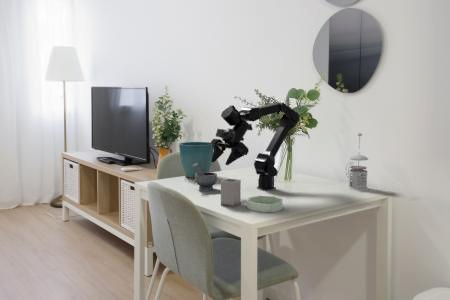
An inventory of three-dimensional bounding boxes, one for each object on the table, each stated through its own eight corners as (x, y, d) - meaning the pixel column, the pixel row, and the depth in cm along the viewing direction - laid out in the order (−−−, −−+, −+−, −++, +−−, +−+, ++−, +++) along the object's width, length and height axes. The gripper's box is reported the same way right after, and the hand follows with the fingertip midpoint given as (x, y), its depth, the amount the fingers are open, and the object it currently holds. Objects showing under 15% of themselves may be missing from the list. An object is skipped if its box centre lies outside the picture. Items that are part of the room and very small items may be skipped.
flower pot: (175, 174, 240) (175, 142, 237) (208, 172, 245) (208, 140, 243) (183, 180, 222) (182, 146, 220) (218, 178, 228) (218, 144, 226)
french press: (373, 189, 204) (376, 133, 200) (353, 191, 198) (356, 134, 195) (358, 185, 212) (360, 131, 209) (338, 187, 207) (340, 132, 204)
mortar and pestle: (211, 186, 209) (211, 160, 208) (220, 190, 201) (220, 163, 200) (188, 188, 204) (188, 162, 203) (197, 192, 196) (197, 165, 194)
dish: (267, 201, 180) (267, 194, 180) (289, 209, 169) (289, 201, 169) (240, 206, 173) (240, 198, 172) (262, 214, 162) (262, 205, 162)
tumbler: (227, 202, 179) (227, 178, 178) (240, 203, 177) (240, 179, 175) (220, 205, 174) (220, 180, 173) (233, 207, 172) (233, 182, 171)
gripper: (212, 119, 193) (193, 149, 189) (241, 122, 179) (221, 154, 174) (228, 135, 200) (210, 164, 195) (257, 138, 185) (238, 170, 181)
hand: (219, 163), depth 186 cm, fingers open, 9 cm apart
